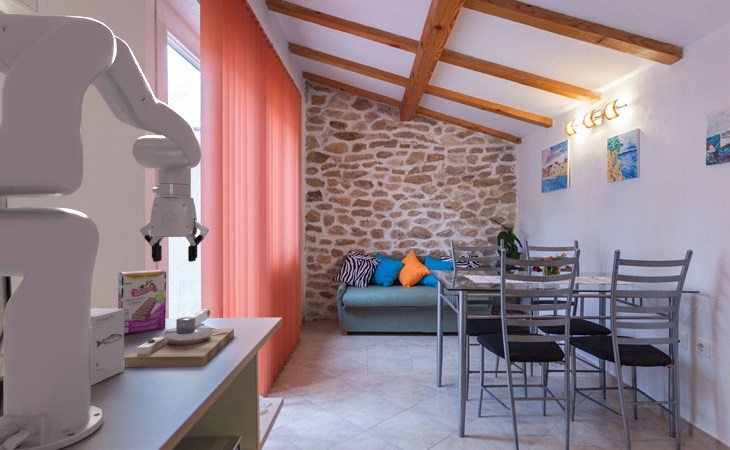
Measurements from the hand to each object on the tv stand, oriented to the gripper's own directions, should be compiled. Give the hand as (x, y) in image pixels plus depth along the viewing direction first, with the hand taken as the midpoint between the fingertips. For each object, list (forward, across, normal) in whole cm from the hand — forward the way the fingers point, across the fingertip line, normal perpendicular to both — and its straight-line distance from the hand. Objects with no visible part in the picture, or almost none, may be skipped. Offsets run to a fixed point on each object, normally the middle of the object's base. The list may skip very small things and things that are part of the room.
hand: (174, 260), depth 100 cm
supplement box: (+20, -5, -24) cm, 32 cm away
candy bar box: (+20, -13, +10) cm, 26 cm away
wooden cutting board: (+20, +6, -8) cm, 22 cm away
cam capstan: (+18, +6, -3) cm, 19 cm away
